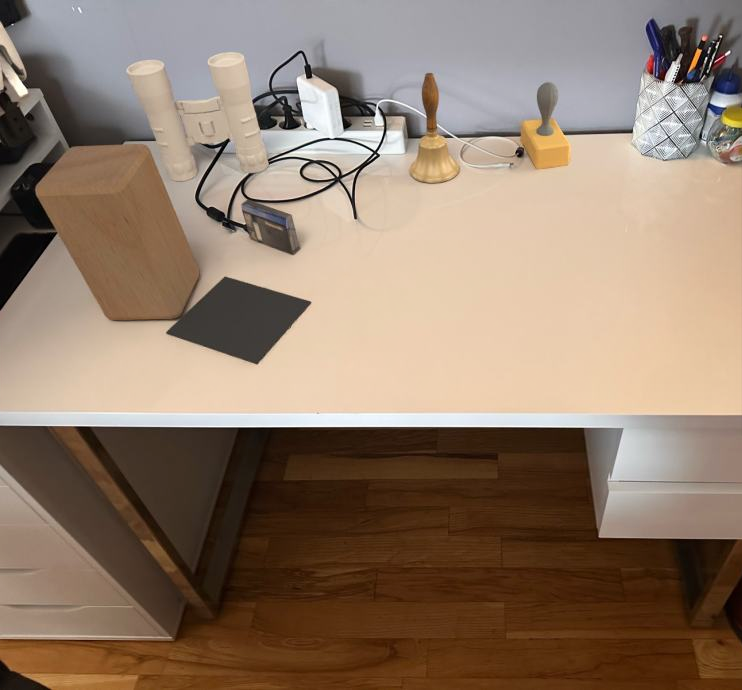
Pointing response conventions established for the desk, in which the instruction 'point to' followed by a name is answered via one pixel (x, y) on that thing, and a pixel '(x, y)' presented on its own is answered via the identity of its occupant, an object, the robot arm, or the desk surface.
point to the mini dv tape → (270, 227)
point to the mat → (239, 319)
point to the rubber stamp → (545, 132)
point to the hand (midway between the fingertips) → (19, 140)
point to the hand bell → (432, 143)
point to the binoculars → (201, 115)
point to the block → (121, 230)
